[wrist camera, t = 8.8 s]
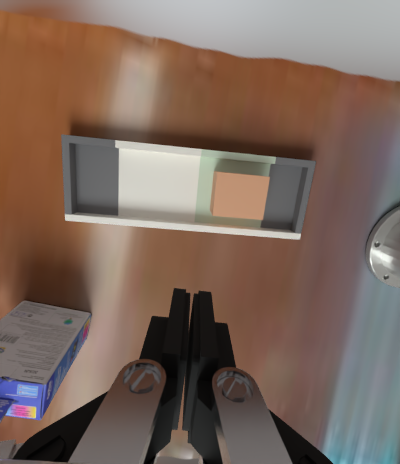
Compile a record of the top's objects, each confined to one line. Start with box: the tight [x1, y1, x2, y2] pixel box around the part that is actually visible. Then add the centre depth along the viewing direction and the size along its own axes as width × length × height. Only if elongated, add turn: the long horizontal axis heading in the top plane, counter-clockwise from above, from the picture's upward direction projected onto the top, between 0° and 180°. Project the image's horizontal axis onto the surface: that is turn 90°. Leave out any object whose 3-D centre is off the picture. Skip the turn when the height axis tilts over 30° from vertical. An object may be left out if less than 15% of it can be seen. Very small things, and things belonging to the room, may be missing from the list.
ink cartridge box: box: [0, 301, 91, 423], centre depth 29 cm, size 10×6×14 cm, turn 76°
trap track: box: [61, 135, 316, 240], centre depth 31 cm, size 30×10×2 cm, turn 85°
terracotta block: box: [210, 171, 270, 220], centre depth 30 cm, size 6×5×4 cm
